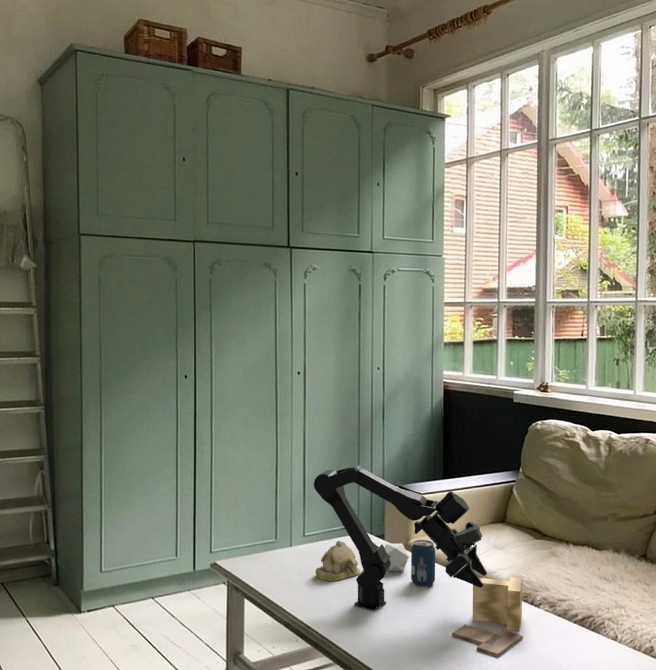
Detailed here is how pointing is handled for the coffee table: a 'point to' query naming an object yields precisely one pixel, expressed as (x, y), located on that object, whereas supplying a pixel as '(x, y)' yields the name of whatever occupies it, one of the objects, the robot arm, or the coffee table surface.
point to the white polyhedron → (397, 556)
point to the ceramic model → (338, 563)
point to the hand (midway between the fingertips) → (484, 580)
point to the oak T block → (499, 602)
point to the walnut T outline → (488, 639)
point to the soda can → (423, 563)
